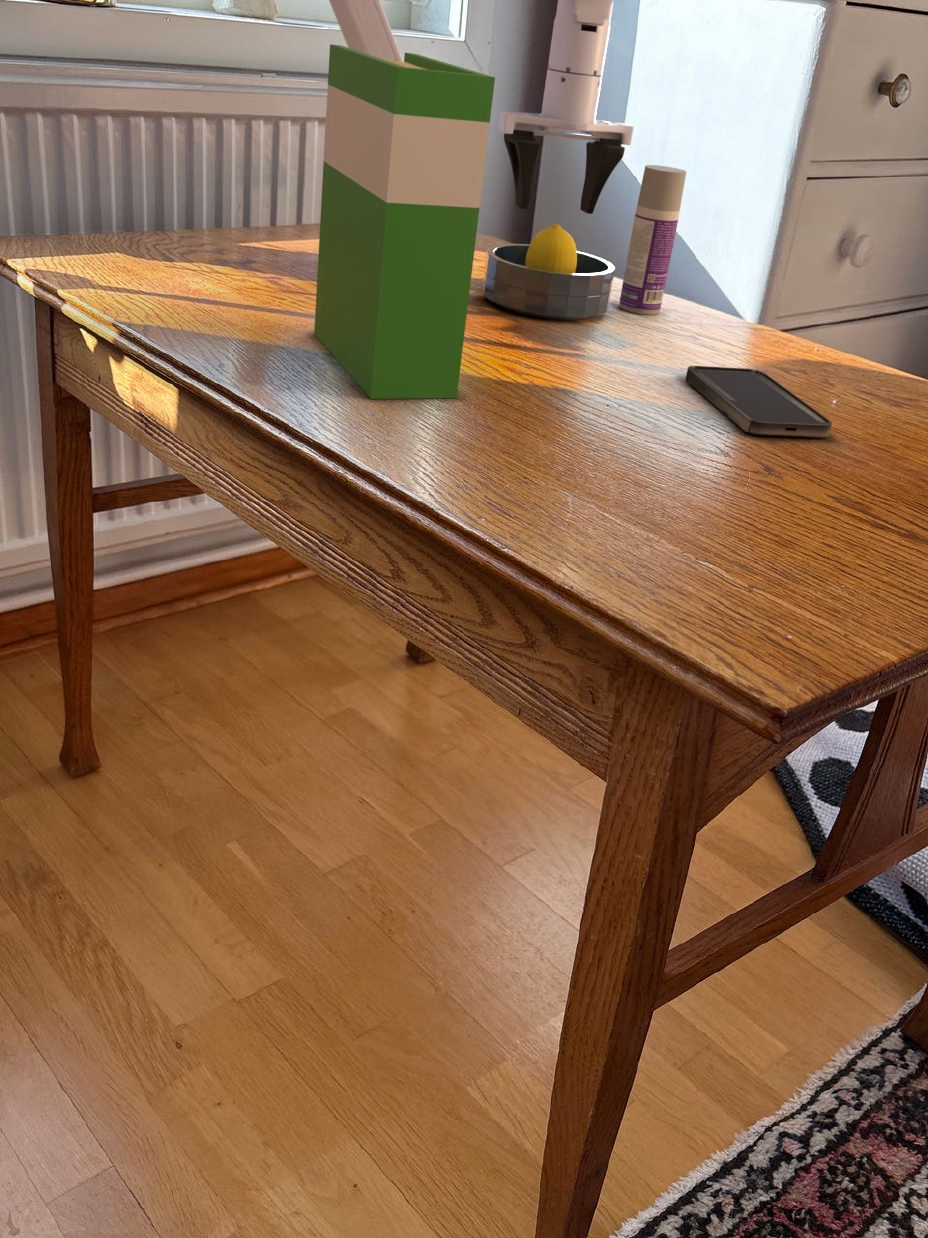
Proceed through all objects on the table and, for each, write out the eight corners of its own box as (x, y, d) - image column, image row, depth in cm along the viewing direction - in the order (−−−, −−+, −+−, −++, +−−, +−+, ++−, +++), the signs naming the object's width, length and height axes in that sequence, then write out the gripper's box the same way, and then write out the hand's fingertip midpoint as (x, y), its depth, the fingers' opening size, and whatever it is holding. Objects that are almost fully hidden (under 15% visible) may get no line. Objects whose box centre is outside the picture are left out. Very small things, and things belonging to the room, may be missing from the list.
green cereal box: (314, 333, 104) (330, 43, 93) (390, 334, 107) (415, 53, 95) (370, 398, 90) (397, 67, 79) (456, 397, 93) (495, 77, 81)
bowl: (469, 307, 119) (475, 259, 117) (495, 282, 131) (501, 237, 129) (598, 330, 117) (606, 282, 115) (613, 302, 129) (621, 257, 127)
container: (658, 306, 130) (686, 168, 123) (660, 316, 126) (689, 174, 119) (618, 301, 130) (643, 162, 123) (619, 310, 126) (644, 168, 119)
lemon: (555, 309, 121) (567, 232, 117) (511, 297, 123) (521, 221, 119) (579, 301, 125) (591, 227, 121) (535, 290, 127) (546, 216, 123)
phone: (759, 369, 107) (837, 425, 94) (756, 380, 108) (833, 438, 95) (682, 365, 105) (751, 421, 92) (680, 376, 106) (748, 434, 93)
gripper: (522, 68, 111) (503, 212, 118) (654, 83, 116) (629, 221, 122) (499, 61, 117) (483, 199, 124) (626, 76, 121) (604, 208, 128)
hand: (554, 209), depth 123 cm, fingers open, 7 cm apart
